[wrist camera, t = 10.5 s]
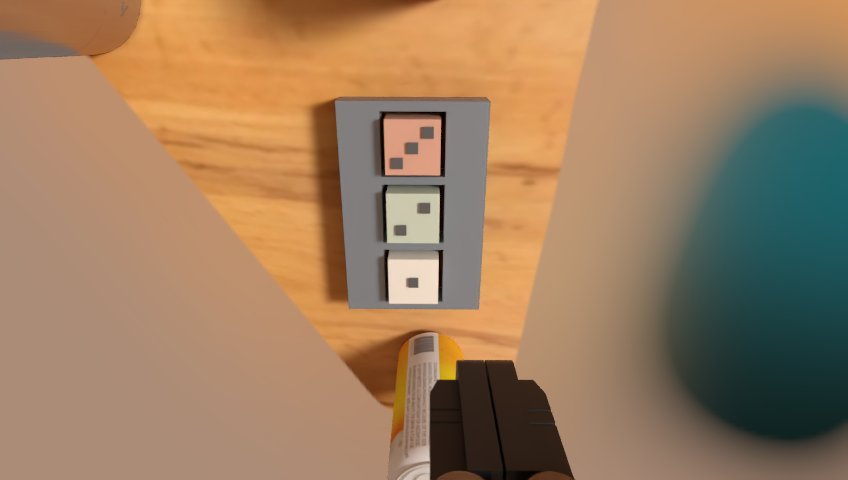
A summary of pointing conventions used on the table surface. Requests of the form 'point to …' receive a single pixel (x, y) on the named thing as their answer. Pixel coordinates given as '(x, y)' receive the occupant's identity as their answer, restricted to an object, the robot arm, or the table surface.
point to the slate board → (368, 178)
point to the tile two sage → (412, 213)
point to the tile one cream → (413, 276)
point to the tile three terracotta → (412, 143)
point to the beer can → (418, 401)
